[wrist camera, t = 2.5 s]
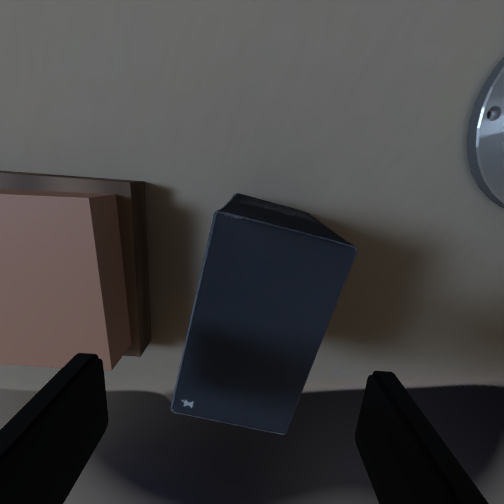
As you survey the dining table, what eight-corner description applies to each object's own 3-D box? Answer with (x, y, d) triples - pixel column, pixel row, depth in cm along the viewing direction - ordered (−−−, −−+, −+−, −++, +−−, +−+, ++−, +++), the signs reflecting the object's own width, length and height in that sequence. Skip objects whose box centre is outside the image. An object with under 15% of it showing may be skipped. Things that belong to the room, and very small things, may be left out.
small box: (276, 328, 23) (289, 444, 13) (204, 310, 23) (163, 416, 13) (314, 212, 20) (368, 250, 10) (233, 190, 20) (206, 207, 10)
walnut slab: (147, 181, 21) (130, 182, 18) (154, 335, 25) (140, 356, 22) (-30, 168, 21) (-76, 167, 18) (5, 324, 25) (-28, 343, 22)
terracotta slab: (115, 194, 18) (88, 197, 15) (131, 344, 22) (111, 370, 19) (-57, 186, 18) (-116, 188, 15) (-14, 336, 22) (-56, 361, 19)
